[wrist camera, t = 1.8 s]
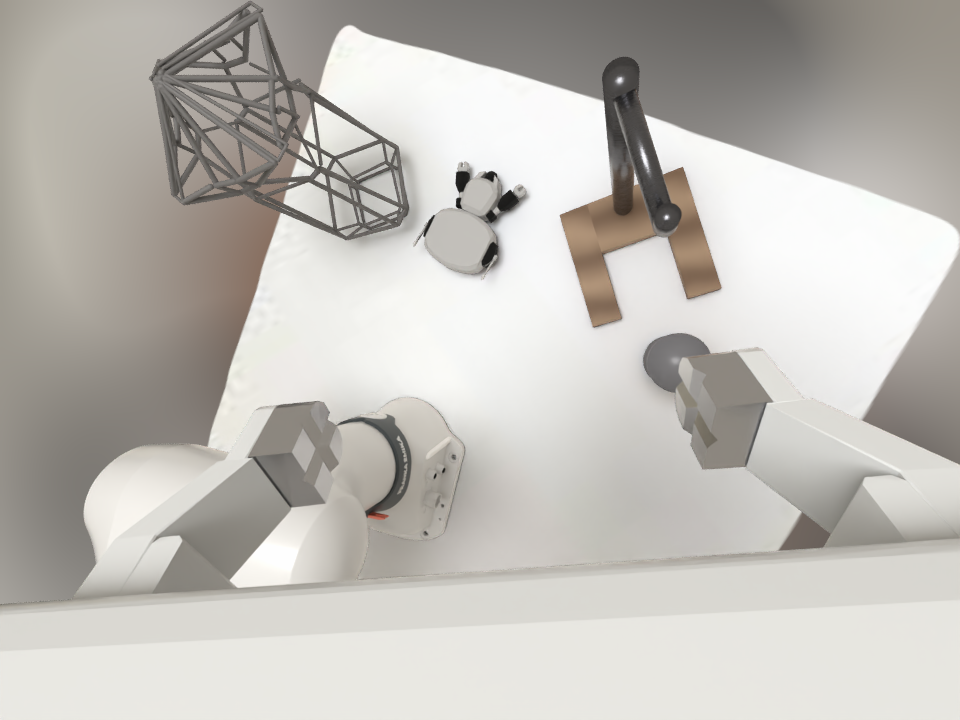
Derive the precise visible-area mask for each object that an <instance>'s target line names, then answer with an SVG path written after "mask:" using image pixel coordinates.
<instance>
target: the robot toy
mask: <svg viewBox="0 0 960 720" xmlns="http://www.w3.org/2000/svg"><path fill="white" fill-rule="evenodd" d="M457 169H458V172H456V187H457V189H458V191H459V198H457V199H456V207H457V208H459V209H453V208H448V209H444V210H441V211H440V212H438V213H437V214H436V215H433V217H432V218H431V219H430V220H429V221H428V223H427V222H426V224H425V225H424V226H425V227H424V229H423V230H422V232H421V233H420V235H419V236H418V238H417V239H416V241H414V243H413V246H415V245H416V244H417V242H418V240H419V239H420V237H421V236H422V234H423V233H424V237H425V244H424V245H425V247H426V249H427V251H428V252H429V254H430V255H431V256H433V257H434V258H435V259H436V260H437V261H439V262H440V263H442V264H443V265H444V266H446V267H447V268H449V269H451V270H454V271H458V272H461V273H466V274H474V273H479V272H480V271H481V270H482V269H483V268H487V270H486V271H485V273H484V274H483V275H482V277H481V280H483V279H484V277H485V275H486V273H487V272H488V270H489V269H490V267H491V265H492V264H493V262H494V261H496V259H497V258H498V257H497V251H498V246H497V245H496V236H495V234H494V232H493V230H492V229H491V228H490V227H489V225H488V224H487V223H485V222H484V221H488V220H489V221H490V222H491V223H492V222H493V221H494V220H496V219H497V216H496V215H497V214H498V213H500V212H502V211H507V210H510V209H511V208H512V207H513V206H514V205H516V204H517V203H518V202H519V201H518V199H517V198H520V197H523V196H524V195H525V193H526V189H525V188H524V187H523V186H522V185H520V184H519V185H518V186H516V187H515V188H514V190H513V192H512V191H511V190H509V191H508V192H507V193H506V194H504V195H503V196H502V197H501V188H502V186H501V184H500V183H499V181H498V179H497V174H496V173H495V172H493V171H490V172H488V173H486V171H485V172H480V173H479V174H478V175H477V176H476V177H475V178H473V179H471V180H470V181H469V178H470V175H469V173H468V170H469V164H468V163H467V162H464V167H463V163H462V162H460V163H459V164H458V168H457ZM522 188H523V189H522ZM521 189H522V190H521ZM520 190H521V191H520ZM519 191H520V192H519ZM460 209H463V210H460Z"/></svg>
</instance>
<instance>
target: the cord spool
mask: <svg viewBox="0 0 960 720" xmlns="http://www.w3.org/2000/svg"><path fill="white" fill-rule="evenodd" d="M706 354H711V353H710V351H709V349H708V348H707V346H706V345H705V344H704V343H703V342H702V341H701V340H699V339H698V338H696V337H694V336H692V335H688V334H682V333H677V334H671V335H667V336H664V337H661V338H658V339H656V340H654V341H653V342H652V343H651V344H650V345H649V346H648V347H647V349H646V351H645V353H644V357H643V363H644V368H645V370H646V372H647V374H648V375H649V376H650V377H651V378H652V380H653V381H654V382H655V383H656V384H657V385H658V386H660V387H661V388H663V389H664V390H667V391H670V392H675V393H676V387H677V386H678V385H679V384H680V383H681V382H682V381H683V380H682V378H681V376H680V374H679V372H678V371H679V364H680V361H681V359H682V358H683V357H690V356H698V355H706Z"/></svg>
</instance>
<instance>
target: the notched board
mask: <svg viewBox="0 0 960 720" xmlns="http://www.w3.org/2000/svg"><path fill="white" fill-rule="evenodd" d="M663 176H664V180H665V183H666V186H667V189H668V192H669V195H670V199H671V202H672V203H673V204H676V205H677V206H678V207H679V208H680V209H681V213H682V216H681V219H680V222H679V224H678V226H677V229H676V231H675V232H674V233H673V234H672V235H670V236H668V239H669V242H670V246H671V249H672V252H673V255H674V258H675V262H676V265H677V268H678V271H679V274H680V278H681V281H682V284H683V287H684V290H685V293H686V297H687V299H690V298H693V297H696V296H700V295H703V294H706V293H710V292H713V291H716V290H719V289H721V285H720V282H719V279H718V275H717V272H716V269H715V266H714V263H713V260H712V257H711V253H710V250H709V247H708V244H707V241H706V238H705V235H704V231H703V228H702V225H701V222H700V219H699V216H698V213H697V210H696V206H695V203H694V200H693V197H692V194H691V191H690V188H689V184H688V181H687V178H686V175H685V172H684V169H683V167H681V168H679V169H676V170H674V171H671V172H668V173H666V174H663ZM560 218H561V221H562V225H563V228H564V231H565V235H566V238H567V241H568V245H569V248H570V251H571V255H572V258H573V262H574V265H575V268H576V272H577V275H578V278H579V282H580V285H581V288H582V292H583V295H584V298H585V302H586V305H587V309H588V312H589V315H590V319H591V322H592V325H593V327H596V326H600V325H603V324H606V323H610V322H613V321H616V320H620V319H621V315H620V312H619V308H618V305H617V302H616V299H615V295H614V292H613V289H612V285H611V282H610V279H609V275H608V272H607V269H606V265H605V262H604V259H603V255H602V254H605V253H608V252H611V251H614V250H616V249H619V248H622V247H625V246H628V245H631V244H634V243H636V242H639V241H642V240H645V239H648V238H651V237H654V236H656V234H655V233H654V232H653V229H652V225H651V222H650V219H649V215H648V212H647V209H646V206H645V202H644V199H643V196H642V193H641V190H640V186H639V184H638V185H635V186H634V190H633V207H632V210H631V211H630V212H629V213H628V214H627V215H623V216H621V215H618V214H616V213H615V211H614V208H613V197H612V195H610V196H607V197H605V198H602V199H599V200H597V201H594V202H592V203H589V204H587V205H584V206H581V207H579V208H576V209H574V210H571V211H569V212H566V213H564V214H561V215H560Z"/></svg>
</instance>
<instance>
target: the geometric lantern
mask: <svg viewBox="0 0 960 720" xmlns="http://www.w3.org/2000/svg"><path fill="white" fill-rule="evenodd" d="M250 5H252V6H253V7H255V8H256V9H258V10H256V11H254V12H253V13H250V11H249V10H247V9H246V8H247V7H249V6H250ZM261 12H263V9H262V8H261V7H259V6H258V5H256V4H255V3H253V2H252V1H248V2H247V3H245V4H244V5H242V6H241V7H240V8H238V9H237V10H235V11H234V12H232V13H231V14H229V15H228V16H226V17H225V18H223V19H222V20H220V21H219V22H217V23H216V24H215V25H213V26H212V27H210V28H209V29H207V30H206V31H204V32H203V33H201V34H200V35H199V36H197V37H195V38H194V39H193V40H191V41H190V42H188V43H187V44H185V45H184V46H182V47H181V48H179V49H178V50H176V51H175V52H174V53H172V54H171V55H169V56H168V57H166V58H165V59H163V60H160V59H158V60H157V62H156V65H155V67H154V70H153V72H152V73H153V74H152V75H151V76H150V77H149V79H150V80H151V81H152V83H153V85H154V90H155V96H156V101H157V107H158V113H159V119H160V124H161V130H162V136H163V141H164V148H165V155H166V162H167V168H168V175H169V182H170V189H171V195H172V196H173V197H175V198H176V199H177V200H178V201H179V202H180V203H182V204H183V205H190V204H195V203H201V202H207V201H212V200H218V199H223V198H228V197H234V196H239V195H243V194H244V195H246V196H248V197H250V198H251V199H253V200H254V201H255V202H257V203H260V204H262V205H265V206H267V207H269V208H272V209H274V210H276V211H279V212H281V213H283V214H286V215H288V216H291V217H293V218H295V219H298V220H300V221H302V222H305V223H307V224H310V225H312V226H314V227H317V228H319V229H321V230H324V231H326V232H329V233H331V234H333V235H336V236H338V237H340V238H343V239H345V240H351V239H355V238H358V237H362V236H366V235H370V234H373V233H377V232H381V231H384V230H388V229H392V228H395V227H398V226H400V224H401V222H402V220H403V217H405V216H407V213H408V209H409V206H408V202H407V197H406V193H405V188H404V182H403V174H402V167H401V160H400V152H399V147H398V146H397V145H396V144H394V143H392V142H390V141H389V140H387V139H385V138H383V137H382V136H380V135H379V134H377V133H375V132H374V131H372V130H370V129H369V128H368V127H366V126H365V125H363V124H362V123H360V122H359V121H357V120H356V119H354V118H353V117H351V116H350V115H348V114H347V113H346V112H344V111H343V110H341V109H340V108H338V107H337V106H335V105H334V104H332V103H331V102H329V101H328V100H326V99H325V98H324V97H322V96H321V95H319V94H318V93H316V92H315V91H313V90H312V89H310V88H309V87H307V86H306V85H304V84H303V83H299V82H301V79H299V78H298V79H296V80H294V81H292V82H290V81H288V80H287V77H286V75H285V72H284V70H283V67H282V64H281V62H280V59H279V56H278V54H277V51H276V48H275V46H274V43H273V41H272V38H271V35H270V33H269V30H268V28H267V25H266V22H265V20H264V17H263V15H262V14H261ZM237 14H239V15H238V16H237V17H236V18H235V19H234V20H233V22H232V23H231V24H230V25H229V26H228V28H226V29H225V30H223V31H221V32H220V33H218V34H216V35H214V36H213V37H211V38H209V39H208V40H205V41H204V42H203V43H201V44H199V45H198V46H196V47H195V48H192V49H189V50H187V51H185V50H186V49H188V48H189V47H191V46H192V45H193V44H195V43H196V42H198V41H199V40H200V39H202V38H204V37H205V36H207V35H208V34H209V33H211V32H212V31H214V30H215V29H217V28H218V27H219V26H221V25H223V24H224V23H225V22H227V21H228V20H230V19H231V18H233V17H234V16H236V15H237ZM256 22H258V26H259V29H260V34H261V39H262V43H263V48H264V51H265V56H266V61H267V65H268V69H269V71H267V70H265V69H263V68H261V67H259V66H257V65H255V64H253V63H249V65H250V66H252V67H254V68H257V69H258V70H261V71H263V72H265V73H267V74H269V75H231V73H230V71H229V68H231V67H234V66H237V65H240V64H243V63H246V62H248V53H249V34H250V26H251V25H253V24H255V23H256ZM242 31H244V34H243V46H241V44H239V43H238V42H237V41H236V40H235V39H234V38H233V37H235V36H236V35H238V34H239V33H241V32H242ZM230 40H231V41H232V42H233V43H234V44H235V45H236V46H237V47H238V48H239V49H240V50H242V51H243V57H240V58H237V59H234V60H232V61H229V62H226V59H225V58H224V57H223V56H222V55H221V54H220V53H219V52H218V51H217V50H216V49H217V48H219V47H222V46H224V45H226V44H228V43H230ZM183 51H184V52H183ZM211 51H213V52H214V53H215V54H216V55H217V56H218V57H219V58H221V59H222V60H223V61H224V62H222V63H212V62H196V61H197V60H199V59H200V58H202V57H203V56H205V55H206V54H208V53H210V52H211ZM271 54H272V56H273V59H274V62H275V64H276V67H277V69H278V72H279V75H280V76H278V75H276V73H275V69H274V65H273V60H272V56H271ZM225 62H226V63H225ZM186 67H193V68H213V69H214V68H215V69H224V70H225V72H226V74H227V75H175V74H177V73H179V72H180V71H182V70H183V69H185V68H186ZM278 81H280V82H281V83H283V85H284V86H282V87H280V88H278V89H275V82H278ZM188 82H231V84H232V86H233V88H234V90H235V92H236V94H237V96H238V97H237V96H234V95H230V94H226V93H223V92H220V91H216V90H213V89H209V88H205V87H202V86H198V85H194V84H191V83H188ZM235 82H269V93H267V94H265V95H263V96H261V97H259V98H257V99H255V100H253V101H251V100H247V99H244V98H243V97H242V95H241V93H240V91H239V89H238V87H237V85H236V83H235ZM297 83H299V85H297ZM173 85H174V86H178V87H182V88H186V89H188V90H190V91H191V92H193V93H195V94H197V95H198V96H200V97H202V98H204V99H205V100H207V101H209V102H211V103H213V104H214V105H216V106H218V107H219V108H221V109H223V110H225V111H226V112H228V113H230V114H232V115H233V116H235V117H237V119H235V120H234V122H231V123H226V122H225V121H224V120H222V119H220V118H219V117H218V116H216V115H215V114H213V113H212V112H210V111H209V110H208V109H206V108H205V107H203V106H202V105H200V104H199V103H197V102H196V101H195V100H193V99H192V98H190V97H189V96H187V95H186V94H184V93H183V92H182V91H180V90H179V89H177V88H176V87H174V86H173ZM283 90H286V93H287V98H288V103H289V107H290V110H287V109H285V108H283V107H281V106H277V108H276V105H275V94H276V93H278V92H281V91H283ZM291 90H293V91H298V92H302V93H305V95H306V96H307V97H308V98H310V104H311V111H312V118H313V125H314V132H315V138H316V145H317V146H316V145H314V144H312V143H310V142H309V141H307V140H305V139H304V138H303V136H302V134H301V132H300V130H299V128H298V126H297V124H296V122H297V120H298V119H299V118H300V116H299V115H298V114H296V109H295V104H294V100H293V95H292V91H291ZM202 93H203V94H202ZM204 94H207V95H210V96H214V97H218V98H221V99H225V100H228V101H232V102H236V103H239V104H242V106H243V108H244V109H243V110H242V112H241V113H240V115H238V114H236V113H234V112H233V111H231V110H230V109H228V108H226V107H224V106H223V105H221V104H219V103H217V102H216V101H214V100H212V99H211V98H209V97H207V96H205V95H204ZM175 96H176V97H177V98H179V99H180V100H181V101H183V102H184V103H186V104H187V105H189V106H190V107H191V108H193V109H194V110H196V111H197V112H199V113H200V114H201V115H203V116H204V117H206V118H207V119H209V120H210V121H211V122H213V123H214V124H216V125H217V126H215V127H211V128H207V129H203V130H202V129H201V128H200V127H199V126H198V124H197V123H196V122H195V121H194V120H193V118H192V117H191V116H190V115H189V113H188V112H187V111H186V110H185V108H184V107H183V106H182V105H181V104H180V102H179V101H178V100H177V99H176V97H175ZM268 97H269V105H266V104H262V103H258V102H260V101H262V100H264V99H266V98H268ZM314 101H315V102H316V103H318V104H320V105H321V106H323V107H325V108H326V109H328V110H330V111H331V112H333V113H335V114H337V115H338V116H340V117H342V118H343V119H345V120H347V121H348V122H350V123H352V124H354V125H355V126H357V127H359V128H360V129H362V130H364V131H365V132H367V133H369V134H371V135H372V136H374V137H375V138H377V139H378V140H377V141H374V142H371V143H369V144H366V145H363V146H361V147H358V148H356V149H353V150H350V151H348V152H345V153H342V154H340V155H337V156H334V155H332V154H330V153H328V152H326V151H325V150H323V149H321V148H320V142H319V135H318V128H317V121H316V115H315V108H314ZM249 106H250V107H254V108H257V109H261V110H265V111H268V112H269V114H270V118H271V120H269V119H267V118H266V117H264V116H262V115H260V114H258V113H256V112H255V111H253V110H251V109H249V108H248V107H249ZM281 111H282V112H285V113H287V114H289V115H291V116H292V119H291V121H290V123H289V125H288V127H287V129H285V128H283V127H282V126H280V125H278V123H277V118H276V114H281ZM247 113H250V114H252V115H253V116H255V117H257V118H259V119H260V120H262V121H264V122H266V123H268V124H269V125H272V126H273V131H274V134H275V135H273V134H271V133H270V132H268V131H266V130H265V129H263V128H261V127H259V126H258V125H256V124H254V123H252V122H250V121H249V120H247V119H245V118H244V117H245V116H246V114H247ZM170 117H172V118H173V121H174V131H173V127H172V123H171V119H170ZM182 117H183V118H182ZM183 119H184V120H185V121H186V122H185V121H184V120H183ZM243 121H244V122H243ZM245 122H246V123H247V124H246V123H245ZM234 124H235V127H236V129H235V128H233V127H232V126H231V125H234ZM238 124H239V125H241V126H243V127H244V128H246V129H248V130H250V131H251V132H253V133H255V134H256V135H258V136H260V137H262V138H264V139H265V140H267V141H269V142H270V143H272V144H274V145H275V146H277V147H279V148H280V149H281V150H282V151H281V152H280V154H279V156H278V158H277V157H276V156H274V155H273V154H271V153H270V152H268V151H267V150H266V149H264V148H263V147H261V146H260V145H258V144H257V143H255V142H254V141H252V140H251V139H250V138H248V137H247V136H245V135H244V134H242V133H241V132H240V131H239V125H238ZM248 124H249V125H248ZM250 125H251V126H253V127H254V128H253V127H251V126H250ZM180 127H181V129H182V130H183V132H184V134H185V135H186V137H187V139H188V141H189V142H190V144H191V146H192V148H193V149H194V150H193V149H191V148H188V147H186V146H184V145H182V144H181V133H180ZM188 127H189V128H190V129H192V130H193V131H194V132H195V134H196V135H195V136H196V141H195V139H194V137H193V136H192V134H191V132H190V130H189V129H188ZM294 127H295V128H296V131H297V133H298V135H299V136H298V135H296V134H294V133H292V131H293V129H294ZM219 128H221V129H223V130H224V131H226V132H227V133H229V134H230V135H231V136H233V137H234V138H236V139H237V140H238V146H239V153H240V160H241V166H242V172H243V175H242V176H240V175H239V174H238V173H237V172H236V171H235V169H234V168H233V167H232V166H231V165H230V163H229V162H228V161H227V160H226V158H225V157H224V156H223V155H222V154H221V152H220V151H219V150H218V149H217V148H216V146H215V145H214V144H213V143H212V141H211V140H210V139H209V138H208V136H207V135H206V134H205V133H204V132H208V131H212V130H216V129H219ZM255 128H256V129H258V130H260V131H261V132H260V131H258V130H256V129H255ZM280 130H281V131H282V132H284V133H285V134H284V135H283V138H281V135H280ZM262 132H263V133H265V134H267V135H268V136H270V137H272V138H274V139H275V140H276V141H275V140H273V139H271V138H270V137H268V136H266V135H265V134H263V133H262ZM174 134H175V135H174ZM290 136H292V137H293V138H295V139H297V140H299V141H301V142H302V143H303V145H304V147H305V149H306V151H307V153H308V155H309V157H310V159H311V161H312V163H311V162H310V161H308V160H306V159H305V158H303V157H301V156H300V155H298V154H296V153H295V152H293V151H291V150H290V149H288V148H287V147H288V145H289V144H288V143H287V142H288V140H289V138H290ZM201 138H202V139H203V141H204V142H205V143H206V144H207V146H208V147H209V148H210V149H211V150H212V152H213V153H214V154H215V155H216V156H217V158H218V159H219V160H220V161H221V162H222V164H223V165H224V166H225V167H226V168H227V170H228V171H229V172H230V173H231V174H232V175H231V174H230V173H228V172H227V171H225V170H224V169H223V168H221V167H220V166H218V165H217V164H215V163H214V162H212V161H211V160H210V159H208V158H207V157H205V156H204V155H203V153H202V151H201ZM241 143H243V144H244V145H246V146H247V147H249V148H250V149H251V150H253V151H254V152H256V153H257V154H259V155H260V156H262V157H263V158H264V159H266V160H267V161H269V162H267V163H265V164H263V165H261V166H260V167H258V168H255V169H254V170H252V171H250V172H248V173H246V170H245V164H244V157H243V151H242V144H241ZM380 143H382V145H383V151H384V156H385V162H383V163H380V164H378V165H376V166H374V167H372V168H370V169H368V170H366V171H364V172H362V173H360V174H358V175H356V176H354V177H352V176H351V175H350V174H349V173H348V171H347V170H346V169H345V168H344V167H343V166H342V164H341V163H340V162H339V161H338V160H337V159H340V158H343V157H345V156H348V155H351V154H353V153H356V152H359V151H361V150H364V149H367V148H369V147H372V146H375V145H377V144H380ZM385 143H386V144H387V145H389V146H391V147H392V148H394V149H395V151H394V154H393V157H392V160H391V163H390V162H388V159H387V154H386V148H385ZM307 145H308V146H310V147H312V148H313V149H315V150H317V152H318V159H319V165H320V166H317V165H316V163H315V161H314V159H313V157H312V155H311V153H310V151H309V149H308V146H307ZM177 146H178V147H180V148H182V149H185V150H187V151H189V152H191V153H193V154H195V155H194V157H193V158H192V160H191V162H190V163H189V165H188V167H187V168H186V170H185V172H184V173H183V175H182V176H181V178H180V175H179V171H178V160H177ZM285 152H287V153H289V154H290V155H292V156H294V157H296V158H297V159H299V160H301V161H302V162H304V163H306V164H307V165H309V166H311V167H312V168H314V169H315V170H314V172H313V173H312V174H311V175H310V176H302V177H289V178H276V179H267V178H268V177H269V175H270V174H271V173H272V172H273V170H274V169H275V168H276V166H277V165H278V162H280V160H281V158H282V157H283V155H284V153H285ZM321 153H323V154H324V155H326V156H328V157H330V158H332V160H331V162H330V164H329V166H328V168H327V169H326V168H324V167H321V166H322V165H323V163H322V156H321ZM395 156H396V157H397V164H398V167H396V166H394V165H393V162H394V159H395ZM198 160H200V161H201V163H202V165H203V167H204V168H205V170H206V172H207V173H208V175H209V177H210V179H211V180H212V182H213V185H212V184H209V185H207V186H205V187H203V188H201V189H200V190H198V191H196V192H194V193H193V194H191V195H189V196H187V197H186V198H184V193H183V189H182V187H183V185H184V183H185V182H186V180H187V178H188V177H189V175H190V173H191V172H192V170H193V168H194V167H195V165H196V163H197V162H198ZM335 161H336V162H337V163H338V164H339V166H340V167H341V168H342V169H343V170H344V172H345V173H346V174H347V175H348V176H349V177H350V180H349V179H347V178H345V177H343V176H340V175H338V174H336V173H334V172H332V171H330V170H331V168H332V166H333V164H334V162H335ZM384 164H386V165H388V166H389V167H388V168H385V169H383V170H381V171H378V172H376V173H374V174H371V175H369V176H366V177H364V178H362V179H359V180H356V179H355V178H358V177H360V176H362V175H364V174H366V173H368V172H370V171H372V170H374V169H376V168H378V167H380V166H382V165H384ZM209 165H211V166H212V167H214V168H215V169H217V170H218V171H220V172H221V173H223V174H224V175H226V176H227V177H228V178H230V179H229V180H225V181H221V182H219V181H218V180H217V178H216V176H215V174H214V173H213V171H212V169H211V167H210V166H209ZM393 168H394V169H396V170H398V172H399V179H400V186H401V193H402V201H403V204H401V200H400V196H399V192H398V187H397V183H396V179H395V174H394V170H393ZM390 169H391V172H392V176H393V181H394V185H395V189H396V194H397V198H398V202H399V203H398V202H396V201H393V200H391V199H389V198H387V197H385V196H383V195H381V194H379V193H376V192H374V191H372V190H370V189H368V188H366V187H364V186H362V185H359V183H360V182H361V181H363V180H366V179H368V178H371V177H373V176H375V175H378V174H380V173H382V172H385V171H387V170H390ZM262 172H264V173H263V174H262V175H261V177H260V178H259V179H258V181H257V182H256V183H252V182H248V181H247V180H248V179H250V178H252V177H254V176H256V175H258V174H260V173H262ZM320 172H321V173H322V174H324V175H325V176H326V183H327V186H325V185H323V184H321V183H319V182H317V181H315V180H314V179H315V178H316V177H317V175H318V174H320ZM329 176H330V177H332V178H335V179H337V180H339V181H342V182H344V183H346V184H348V186H349V190H350V194H351V198H352V199H350V198H348V197H346V196H344V195H343V194H341V193H339V192H337V191H335V190H333V189H331V186H330V179H329ZM353 181H355V182H357V183H355V182H353ZM286 182H287V183H288V182H297V183H294V184H291V185H288V186H286V187H283V188H280V189H277V190H275V191H272V192H269V193H267V194H262V193H260V192H258V191H256V190H254V189H256V188H258V187H261V185H264V184H276V183H286ZM308 182H309V183H311V184H313V185H315V186H317V187H319V188H321V189H323V190H325V191H327V192H328V196H329V202H330V209H331V216H332V222H333V227H330V226H328V225H326V224H324V223H322V222H320V221H318V220H316V219H314V218H312V217H310V216H308V215H306V214H304V213H302V212H300V211H297V210H295V209H293V208H291V207H289V206H287V205H285V204H283V203H281V202H279V201H276V200H275V199H273V198H270V197H269V196H271V195H274V194H276V193H280V192H282V191H285V190H288V189H291V188H294V187H296V186H299V185H302V184H305V183H308ZM234 184H239V185H240V186H242V187H243V189H241V190H235V189H231V188H227V187H225V186H230V185H234ZM351 187H352V188H353V189H355V190H356V194H357V199H358V202H356V201H354V197H353V193H352V189H351ZM214 188H217V189H220V190H224V191H228V192H225V193H220V194H214V195H208V196H202V197H200V196H201V195H203V194H205V193H207V192H209V191H211V190H212V189H214ZM358 189H360V190H362V191H364V192H366V193H369V194H371V195H373V196H375V197H377V198H380V199H382V200H384V201H386V202H388V203H390V204H393V205H395V206H397V207H399V209H398V211H395V212H393V213H390V214H388V215H385V216H383V215H381V214H379V213H377V212H375V211H373V210H371V209H369V208H368V207H366V206H364V205H362V204H361V202H360V197H359V192H358ZM179 192H180V195H181V199H180V198H179V197H178V196H177V195H178V193H179ZM332 194H333V195H335V196H337V197H339V198H341V199H343V200H345V201H347V202H349V203H351V204H353V207H354V211H355V215H356V219H357V223H356V224H352V225H349V226H346V227H342V228H339V229H337V225H336V219H335V212H334V206H333V199H332ZM255 195H257V196H258V197H256V196H255ZM262 199H265V200H267V201H269V202H272V203H274V204H276V205H278V206H280V207H282V208H284V209H282V208H280V207H278V206H275V205H273V204H271V203H268V202H266V201H264V200H262ZM356 206H357V207H359V208H360V212H361V217H362V221H363V224H362V223H360V221H359V217H358V213H357V209H356ZM401 208H402V209H403V210H402V212H400V210H401ZM285 209H286V210H285ZM362 209H363V210H365V211H366V212H368V213H370V214H372V215H374V216H376V217H378V219H376V220H373V221H371V222H368V223H366V224H365V220H364V215H363V211H362ZM287 210H288V211H287ZM289 211H291V212H289ZM292 212H293V213H292ZM294 213H295V214H294ZM296 214H297V215H296ZM395 214H397V217H396V218H393V219H389V218H387V217H390V216H392V215H395ZM400 214H401V215H400ZM380 220H384V221H385V222H383V223H380V224H377V225H375V226H372V227H369V226H367V225H370V224H372V223H375V222H377V221H380ZM395 220H397V223H396V222H395ZM387 223H390V224H392V225H388V226H385V227H381V228H377V229H374V228H376V227H379V226H382V225H384V224H387ZM358 225H359V226H360V227H359V228H357V229H356V230H355V231H354V232H352V233H351V234H350V235H348V236H345V235H343V234H342V233H340V232H339V231H341V230H344V229H348V228H351V227H354V226H358ZM363 227H364V228H367V229H369V230H370V231H366V232H363V233H359V234H356V235H354V234H355V233H356V232H358V231H359V230H360V229H361V228H363ZM372 229H374V230H372Z"/></svg>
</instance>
